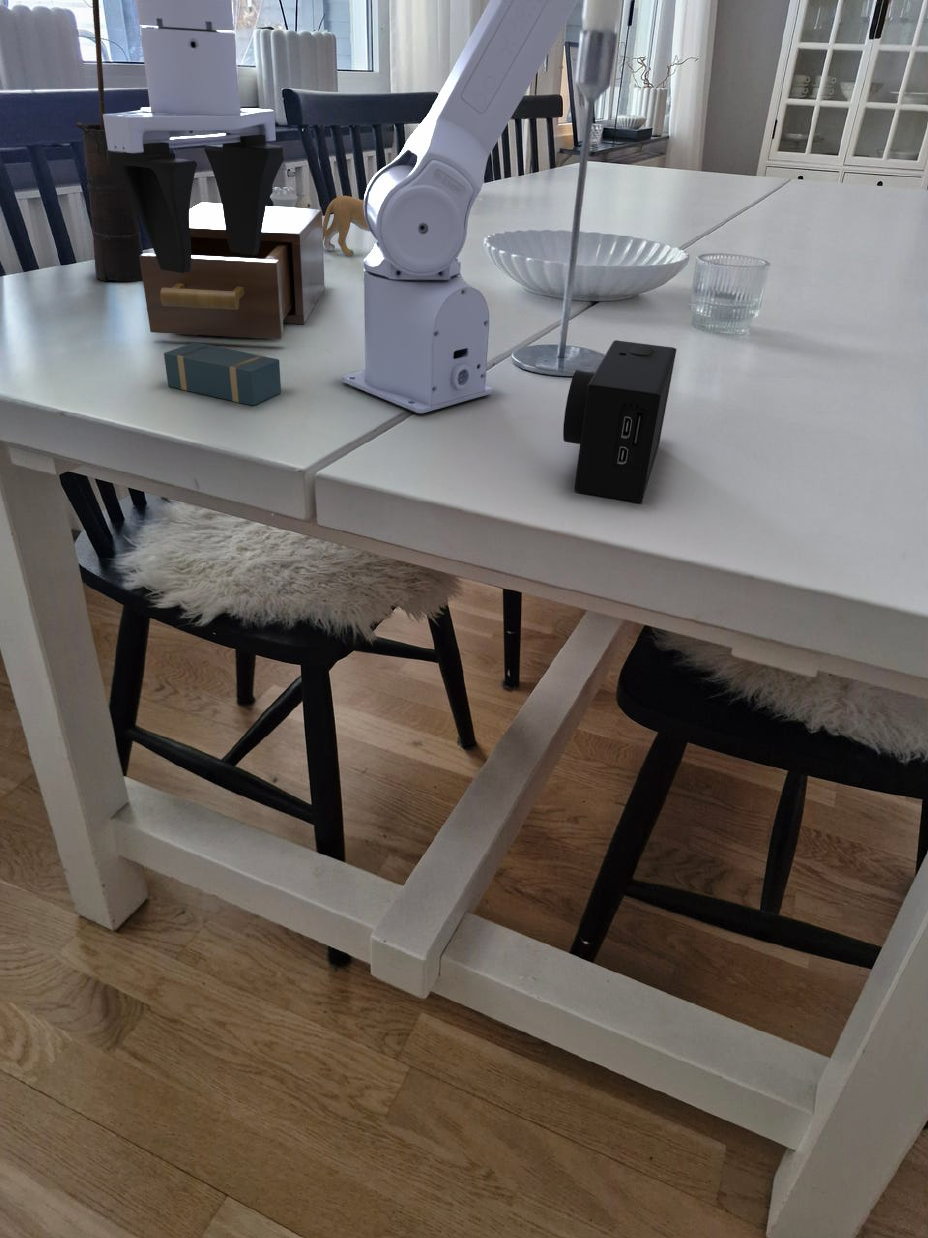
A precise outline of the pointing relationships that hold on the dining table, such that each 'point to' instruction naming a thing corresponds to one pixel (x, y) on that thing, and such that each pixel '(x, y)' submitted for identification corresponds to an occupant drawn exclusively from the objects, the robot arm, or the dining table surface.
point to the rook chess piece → (283, 197)
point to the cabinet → (280, 227)
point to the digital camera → (619, 419)
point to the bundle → (223, 373)
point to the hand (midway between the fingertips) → (211, 261)
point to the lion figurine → (343, 221)
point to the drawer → (222, 291)
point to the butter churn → (109, 197)
